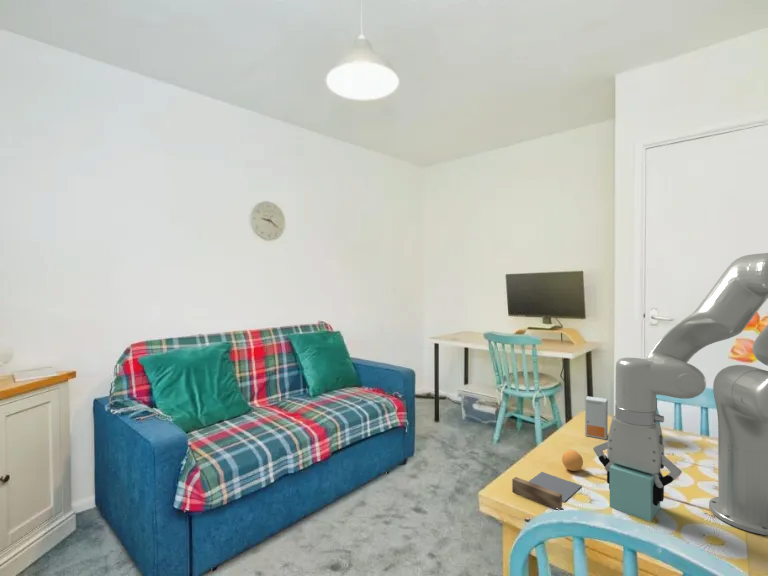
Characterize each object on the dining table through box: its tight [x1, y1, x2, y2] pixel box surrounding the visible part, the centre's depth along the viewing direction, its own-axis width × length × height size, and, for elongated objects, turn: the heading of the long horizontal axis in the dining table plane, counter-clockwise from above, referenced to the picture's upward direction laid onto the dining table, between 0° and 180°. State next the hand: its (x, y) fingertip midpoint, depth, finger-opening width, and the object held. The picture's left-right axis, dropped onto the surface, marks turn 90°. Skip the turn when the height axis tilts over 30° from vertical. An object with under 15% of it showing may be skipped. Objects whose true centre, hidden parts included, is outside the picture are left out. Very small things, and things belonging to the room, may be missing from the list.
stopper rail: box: [511, 476, 563, 510], centre depth 91 cm, size 11×2×3 cm, turn 43°
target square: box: [527, 471, 582, 503], centre depth 97 cm, size 10×10×1 cm
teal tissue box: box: [609, 464, 661, 523], centre depth 88 cm, size 8×8×9 cm
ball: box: [561, 449, 584, 472], centre depth 105 cm, size 5×5×5 cm
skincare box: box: [584, 395, 609, 441], centre depth 128 cm, size 6×4×12 cm
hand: (634, 494), depth 88 cm, fingers closed on teal tissue box, 7 cm apart
